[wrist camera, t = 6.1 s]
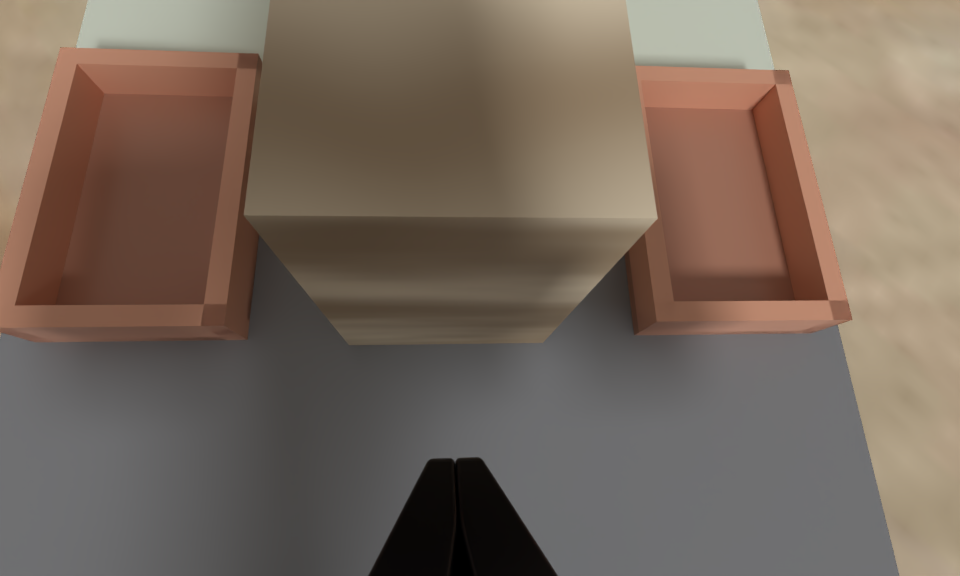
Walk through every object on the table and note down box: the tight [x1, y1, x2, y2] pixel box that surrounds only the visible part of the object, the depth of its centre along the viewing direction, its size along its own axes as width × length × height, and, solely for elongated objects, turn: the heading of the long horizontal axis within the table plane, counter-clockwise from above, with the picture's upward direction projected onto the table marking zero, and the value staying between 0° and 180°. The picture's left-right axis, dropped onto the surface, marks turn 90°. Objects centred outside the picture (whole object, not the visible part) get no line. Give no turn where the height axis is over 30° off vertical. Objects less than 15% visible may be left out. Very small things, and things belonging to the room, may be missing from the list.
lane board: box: [0, 0, 899, 576], centre depth 17 cm, size 30×26×3 cm
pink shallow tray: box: [624, 66, 852, 335], centre depth 17 cm, size 9×6×2 cm, turn 2°
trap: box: [0, 47, 262, 342], centre depth 16 cm, size 9×6×2 cm, turn 2°
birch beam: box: [244, 0, 658, 345], centre depth 14 cm, size 16×6×9 cm, turn 2°
